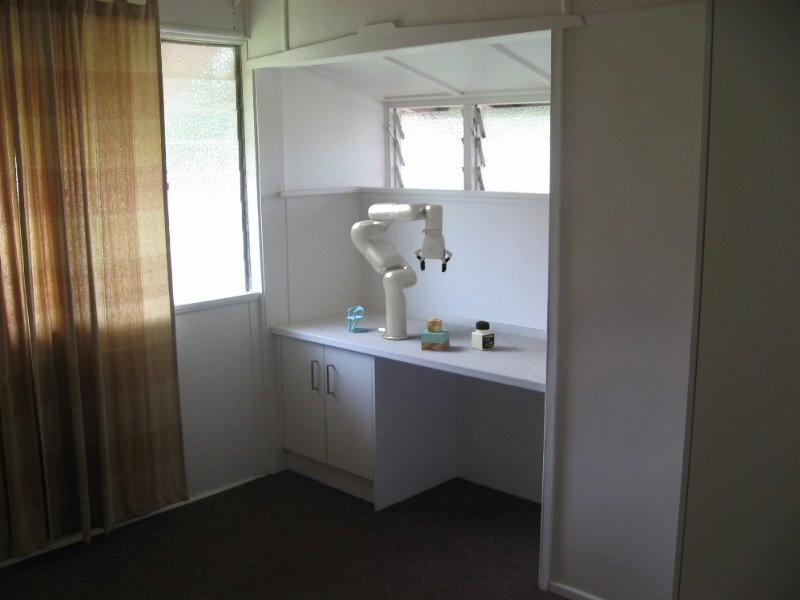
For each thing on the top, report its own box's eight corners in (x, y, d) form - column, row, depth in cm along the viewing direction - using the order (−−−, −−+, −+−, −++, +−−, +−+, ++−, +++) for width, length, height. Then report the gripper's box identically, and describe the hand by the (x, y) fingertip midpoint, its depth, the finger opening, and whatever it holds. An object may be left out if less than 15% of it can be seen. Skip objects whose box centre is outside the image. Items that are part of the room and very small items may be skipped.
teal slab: (421, 342, 365) (421, 333, 364) (427, 337, 374) (427, 328, 373) (443, 343, 362) (443, 334, 361) (449, 338, 371) (449, 329, 370)
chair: (344, 331, 408) (343, 307, 406) (358, 328, 413) (357, 304, 411) (353, 333, 402) (352, 309, 400) (368, 330, 407) (366, 306, 405)
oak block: (427, 332, 366) (427, 320, 365) (431, 329, 371) (430, 318, 370) (438, 332, 364) (438, 321, 363) (441, 330, 369) (441, 319, 368)
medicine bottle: (482, 350, 361) (482, 323, 359) (471, 348, 367) (471, 321, 365) (494, 348, 366) (494, 321, 363) (483, 345, 371) (483, 319, 369)
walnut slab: (421, 351, 365) (421, 342, 365) (427, 346, 375) (427, 337, 374) (443, 352, 362) (443, 343, 362) (449, 347, 372) (449, 338, 371)
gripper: (412, 232, 367) (412, 271, 371) (449, 234, 361) (449, 273, 365) (418, 230, 374) (417, 268, 378) (455, 232, 368) (454, 271, 371)
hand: (433, 271), depth 371 cm, fingers open, 9 cm apart
